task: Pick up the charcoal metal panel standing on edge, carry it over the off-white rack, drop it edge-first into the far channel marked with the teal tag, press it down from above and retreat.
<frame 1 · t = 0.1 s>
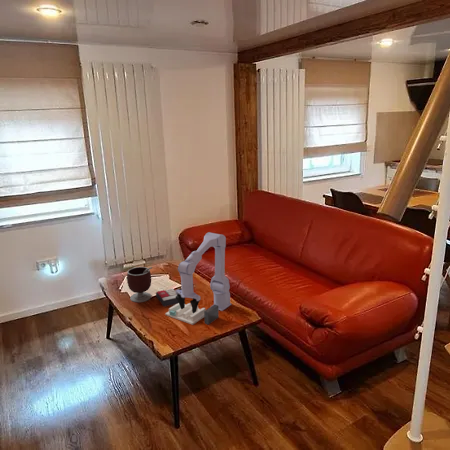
hand: (188, 310, 194), 10 cm above the table, tool pointing down, fingers open, 7 cm apart
mate gourd: (142, 298, 231), on the table
panel: (211, 320, 203), on the table
rack: (187, 314, 210), on the table
calculator: (168, 300, 228), on the table
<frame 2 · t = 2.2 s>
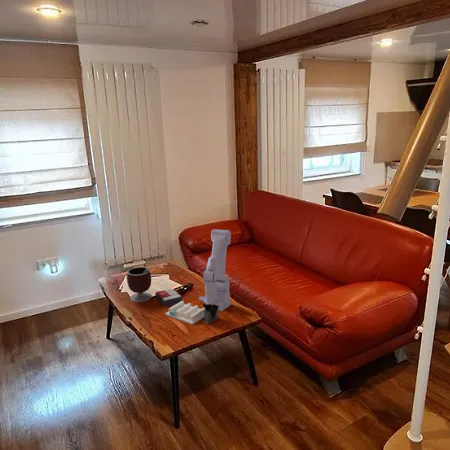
hand: (211, 316, 203), 2 cm above the table, tool pointing down, fingers closed on panel, 2 cm apart
panel: (211, 320, 203), on the table, touching gripper
everything else where it was.
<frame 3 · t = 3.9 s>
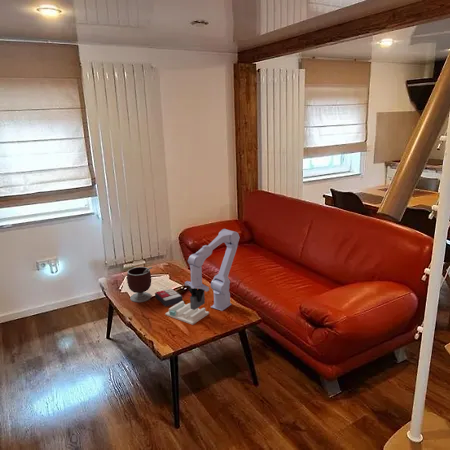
hand: (197, 300, 205), 9 cm above the table, tool pointing down, fingers closed on panel, 2 cm apart
panel: (197, 305, 206), point 6 cm above the table, touching gripper
everything else where it was.
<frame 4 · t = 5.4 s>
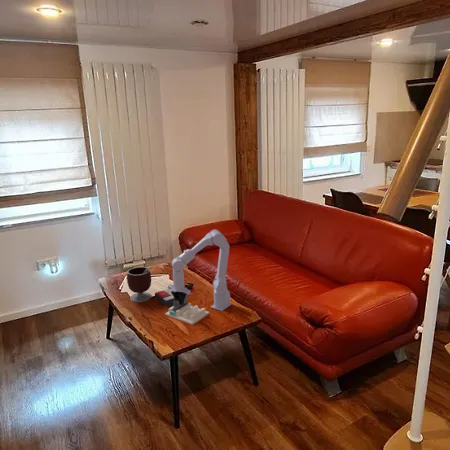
hand: (179, 303, 212), 5 cm above the table, tool pointing down, fingers closed on panel, 2 cm apart
panel: (180, 309, 213), point 1 cm above the table, touching gripper
everything else where it was.
when the fingers open (5 cm above the table, at t = 5.8 s): panel stays where it is, resting on rack.
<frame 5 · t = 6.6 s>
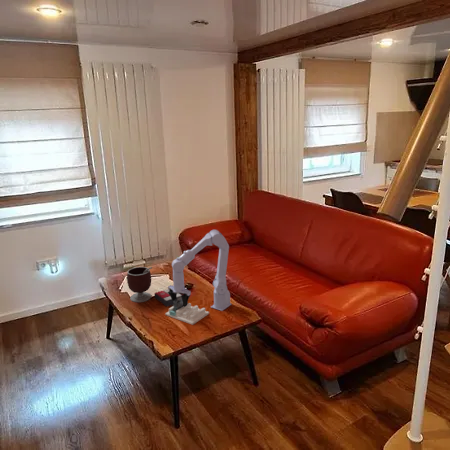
hand: (179, 304, 212), 5 cm above the table, tool pointing down, fingers open, 7 cm apart
panel: (180, 309, 213), point 1 cm above the table, touching rack
everything else where it was.
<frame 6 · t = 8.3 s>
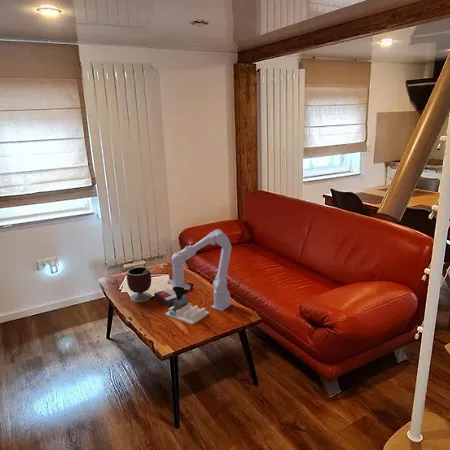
hand: (179, 298, 211), 8 cm above the table, tool pointing down, fingers closed, pressing on panel
panel: (180, 309, 213), point 1 cm above the table, touching gripper, rack
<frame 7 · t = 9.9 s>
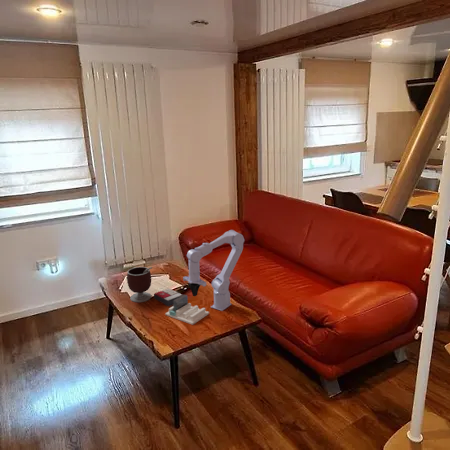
hand: (194, 295, 209), 10 cm above the table, tool pointing down, fingers closed
panel: (180, 309, 213), point 1 cm above the table, touching rack
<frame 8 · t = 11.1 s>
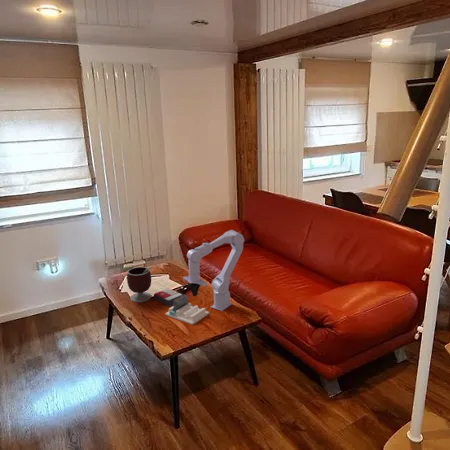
hand: (194, 295, 209), 10 cm above the table, tool pointing down, fingers closed
at the end: panel 0.6 cm from the target spot on the rack, point 1.1 cm above the rack's base; panel tilted 0°; the gripper is holding nothing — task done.
